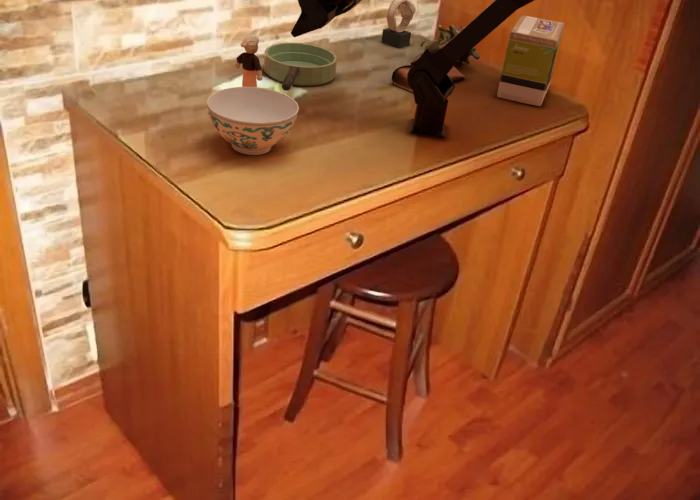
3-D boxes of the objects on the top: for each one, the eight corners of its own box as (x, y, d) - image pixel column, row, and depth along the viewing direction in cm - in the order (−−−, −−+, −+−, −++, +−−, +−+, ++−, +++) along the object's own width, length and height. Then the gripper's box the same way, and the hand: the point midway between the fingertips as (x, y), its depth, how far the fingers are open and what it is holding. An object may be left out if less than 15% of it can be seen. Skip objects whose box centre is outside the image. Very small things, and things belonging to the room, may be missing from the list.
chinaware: (247, 120, 133) (249, 80, 129) (312, 147, 127) (316, 106, 123) (187, 144, 123) (187, 101, 118) (255, 175, 116) (257, 131, 112)
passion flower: (455, 85, 177) (491, 53, 169) (429, 85, 169) (466, 52, 161) (433, 47, 179) (468, 14, 172) (407, 45, 171) (442, 11, 164)
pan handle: (289, 92, 140) (290, 84, 139) (280, 91, 140) (281, 82, 139) (299, 74, 149) (299, 65, 148) (290, 72, 149) (291, 64, 148)
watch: (413, 43, 183) (420, -1, 177) (394, 49, 178) (401, 3, 172) (395, 37, 186) (402, -7, 180) (376, 42, 180) (382, -3, 174)
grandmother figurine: (270, 102, 141) (273, 38, 135) (257, 108, 139) (260, 42, 132) (240, 91, 145) (242, 27, 138) (227, 95, 142) (228, 31, 135)
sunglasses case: (421, 93, 153) (413, 62, 152) (396, 100, 158) (388, 70, 157) (468, 77, 165) (461, 47, 164) (443, 84, 170) (436, 55, 169)
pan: (330, 91, 150) (332, 71, 148) (257, 80, 150) (258, 60, 148) (338, 67, 163) (340, 48, 160) (271, 57, 163) (272, 38, 161)
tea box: (506, 77, 170) (522, 12, 162) (549, 86, 168) (567, 22, 160) (494, 97, 158) (510, 29, 150) (541, 108, 155) (559, 39, 147)
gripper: (347, -72, 135) (294, -15, 144) (308, -57, 120) (251, 5, 129) (386, -23, 137) (331, 30, 146) (352, -3, 122) (293, 55, 131)
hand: (302, 29), depth 138 cm, fingers open, 9 cm apart
